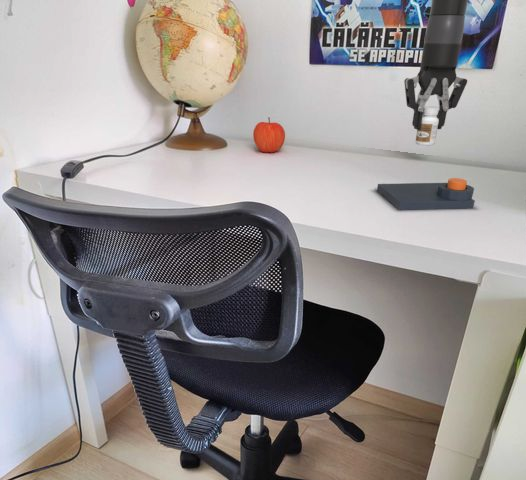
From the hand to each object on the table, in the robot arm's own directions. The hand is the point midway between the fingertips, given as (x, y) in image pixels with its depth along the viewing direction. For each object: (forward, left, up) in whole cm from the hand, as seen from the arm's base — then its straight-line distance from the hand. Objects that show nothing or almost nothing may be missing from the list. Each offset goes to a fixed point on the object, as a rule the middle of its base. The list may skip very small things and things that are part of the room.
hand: (427, 128), depth 113 cm
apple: (+35, -15, -8) cm, 38 cm away
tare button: (+7, +31, -5) cm, 32 cm away
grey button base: (+12, +28, -8) cm, 31 cm away
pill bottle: (0, 0, -4) cm, 4 cm away
